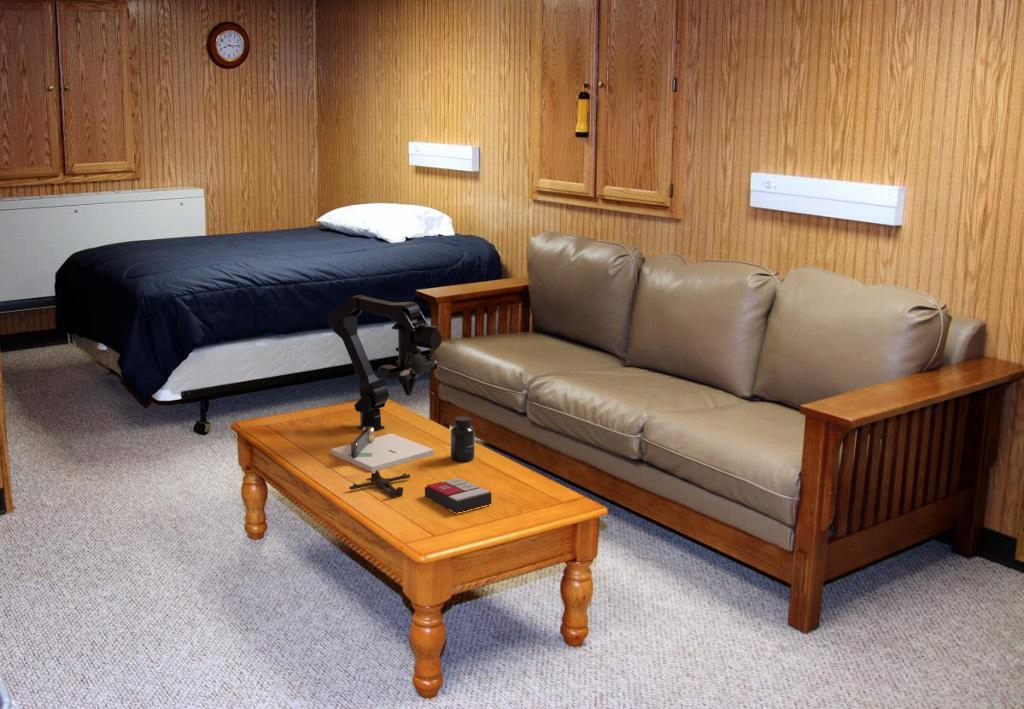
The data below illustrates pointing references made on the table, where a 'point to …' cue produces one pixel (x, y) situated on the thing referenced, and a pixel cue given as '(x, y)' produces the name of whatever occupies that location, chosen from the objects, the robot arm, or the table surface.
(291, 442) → the table surface
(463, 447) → the supplement bottle
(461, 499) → the red grey black box
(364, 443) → the pointer
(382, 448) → the dial board
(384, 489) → the black cross stand base
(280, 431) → the table surface
